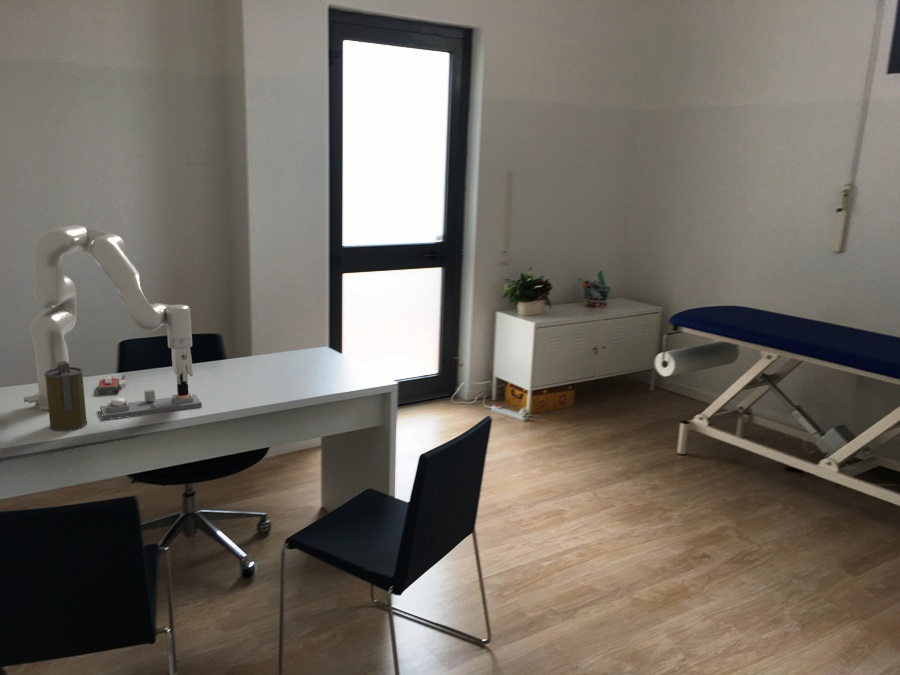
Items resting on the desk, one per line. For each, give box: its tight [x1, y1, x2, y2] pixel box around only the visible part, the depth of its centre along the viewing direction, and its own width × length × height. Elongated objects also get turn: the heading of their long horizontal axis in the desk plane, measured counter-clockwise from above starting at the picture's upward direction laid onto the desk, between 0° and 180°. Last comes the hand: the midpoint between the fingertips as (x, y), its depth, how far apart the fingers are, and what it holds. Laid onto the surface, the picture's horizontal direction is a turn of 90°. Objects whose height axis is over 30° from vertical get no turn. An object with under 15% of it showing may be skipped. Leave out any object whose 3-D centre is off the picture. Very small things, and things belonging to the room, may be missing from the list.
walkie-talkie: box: [97, 374, 127, 396], centre depth 265 cm, size 9×4×20 cm
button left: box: [110, 397, 126, 407], centre depth 238 cm, size 4×4×2 cm
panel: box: [99, 392, 203, 420], centre depth 244 cm, size 30×10×3 cm, turn 121°
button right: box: [175, 393, 189, 399], centre depth 248 cm, size 4×4×2 cm
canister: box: [44, 361, 88, 432], centre depth 224 cm, size 11×10×20 cm
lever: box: [143, 388, 156, 402], centre depth 246 cm, size 2×3×4 cm, turn 121°
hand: (183, 394), depth 248 cm, fingers closed
